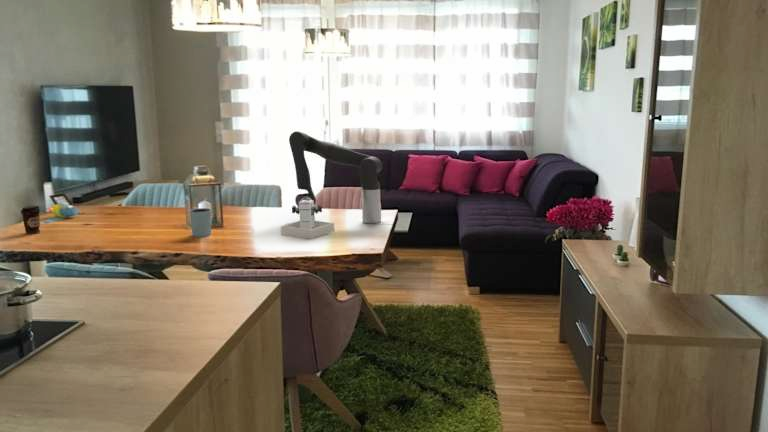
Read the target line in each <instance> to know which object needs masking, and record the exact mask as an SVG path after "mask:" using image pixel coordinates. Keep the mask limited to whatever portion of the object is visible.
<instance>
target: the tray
mask: <svg viewBox="0 0 768 432" xmlns="http://www.w3.org/2000/svg"><path fill="white" fill-rule="evenodd" d="M333 232H335V223H334V222H330V221H329V222H328V221H323V220H322V221H321V220H315V228H314V229H311V230H310V229H303V228H300V220H297V221H294V222H290V223H287V224H283V225H280V234H281V235H284V236H285V235H286V236H291V237H299V238H304V239H305V238H306V239H313V238H317V237H320V236H324V235H326V234H330V233H333Z"/></svg>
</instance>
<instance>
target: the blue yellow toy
mask: <svg viewBox="0 0 768 432" xmlns="http://www.w3.org/2000/svg"><path fill="white" fill-rule="evenodd" d="M46 209H47V210H48V211H49V214H53V216H52V217H49V218H47V219H44V220H42V221H40V224H41V223H48V224H49V223H53V222H56V221H60V220H63V219H67V218H70V217H73V216H77V215H78V214H82V212H81V211H79V210H78V207H75V205H69V204H67V203H63V202H58V203H57V204H55V205H51V207H50V206H48V207H46Z"/></svg>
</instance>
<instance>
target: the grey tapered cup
mask: <svg viewBox="0 0 768 432" xmlns="http://www.w3.org/2000/svg"><path fill="white" fill-rule="evenodd" d="M188 213H189V217H190V218H189V219H190V224H191V225H190V226H191V233H192V236H193V237H195V238H198V237H199V238H200V237H201V238H202V237H209V236H212V209H211V208H204V207H203V208H193V209H190V210H188Z"/></svg>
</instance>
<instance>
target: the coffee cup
mask: <svg viewBox="0 0 768 432" xmlns="http://www.w3.org/2000/svg"><path fill="white" fill-rule="evenodd" d="M40 212H41V209H40V206H38V205H29V206H28V205H27V206H24V207H22V209H21V210H20V214H21V217H22V221H23V227H24V231H25V234H27V235H35V234H38V233H41V230H40V227H41V223H40V222H41V216H40Z"/></svg>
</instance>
